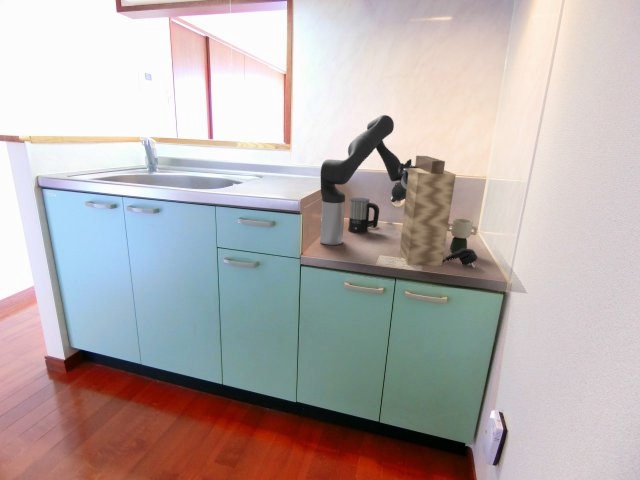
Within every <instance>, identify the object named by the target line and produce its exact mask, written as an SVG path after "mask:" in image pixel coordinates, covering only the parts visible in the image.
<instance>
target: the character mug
mask: <svg viewBox="0 0 640 480" xmlns="http://www.w3.org/2000/svg"><path fill="white" fill-rule="evenodd" d="M473 224H474V222H473V220H471V219H469V218H462V217H459V218H457V217H456V218H453V220H452V222H448V228H447V232H451V236H452V237H453V238H452V240H451V244H450V246H449V250H450V251H451V252H452V253H454V252H456V251H458V250H460V249H462V248H467V249H468V239H469V238H470V237H471V236H476V235H477V233H478V227H477V226H474V225H473ZM450 226H451V228H450ZM472 230H473V232H472Z"/></svg>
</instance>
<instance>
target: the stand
mask: <svg viewBox="0 0 640 480" xmlns="http://www.w3.org/2000/svg"><path fill="white" fill-rule="evenodd" d="M456 177H457V176H456V173H453V172H451V171H448V170H445V169H444V173H443V174H431V173H429V172H427V171H424V170H422V169H420V168H409V172H408V181H407V190H406V199H404V201H405V202H404V209H403V210H404V211H403V220H402V229H401V237H400V246H399V252H400V253H401V255H402V257H403V259H404V261H405V263H406V265H408V266H409V265H410V266H411V265H412V266H430V267H431V266H432V267H442V266H443V263H442V261H443V260H444V253H445V248H446V242H447V241H446V240H447V236H448V235H447V233H448V231H447V228H448V223H450V222H449V221H450V215H451V208H452V202H453V194H454V188H455V182H456Z"/></svg>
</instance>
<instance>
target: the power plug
mask: <svg viewBox="0 0 640 480" xmlns="http://www.w3.org/2000/svg"><path fill="white" fill-rule="evenodd" d="M478 258H479V257H478V255H477V254H476V252H475V250H474V249H472V248H468V247H467V248H462V249H460V250H458V251H456V252H452V253H451V254H449V255H448V256H446V257H445V259H443V261H442V264H444V263H445V262H450V261H452V260H457V259H459V261H460V263H461V264H462V266H468V265H470V266H471V268H472V269H475V268H476V267H475V265H474V262H476V261H477V260H478Z"/></svg>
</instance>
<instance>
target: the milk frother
mask: <svg viewBox="0 0 640 480" xmlns="http://www.w3.org/2000/svg"><path fill="white" fill-rule="evenodd" d="M349 201H350V202H349V219H348V229H347V230H348V231H349V232H351V233H359V234H362V233H367V232H368V231H369V230H368V228H370V227H372V228H377V227H378V222H379V216H380V208H379V206H378V204H376V203H373V202H370V201H371V200H370V198H367V197H351V198H349ZM370 209H373V219H370Z"/></svg>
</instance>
